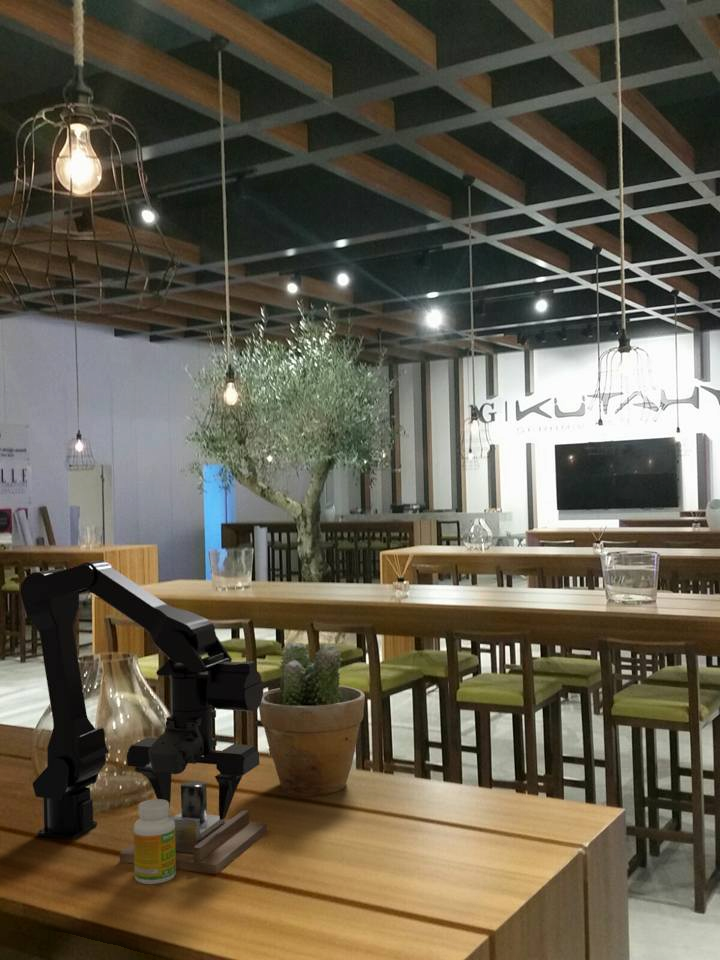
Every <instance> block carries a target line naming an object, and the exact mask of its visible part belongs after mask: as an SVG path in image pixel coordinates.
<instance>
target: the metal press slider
mask: <svg viewBox="0 0 720 960" xmlns="http://www.w3.org/2000/svg"><path fill="white" fill-rule="evenodd" d="M207 797H208V796H207V783H206V781H200V780H193V781H192V780H191V781H186V782H183V783H182V784H181V785H180V805H181V806H180V808H181V810H180V811H181V812H180V813H178V814H176V815H169V816H170V817H171V818H172V819H173V820H174V822H175V845H176V851H179V852H187V853H194V852H193V847H194V846H196V845H197V844H198V843H200V842H201V841H202V840H204V839H205V838H207V837H208V836H209V835H211V834H212V833H213V832H215V831H216V830H217V829H219V828H220V827H221V826H223V825H224V824H225V823H224V819H225V818H224V819H223V820H220V816H219V815H218V814H217V815H215V814H208V802H207Z"/></svg>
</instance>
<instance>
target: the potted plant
mask: <svg viewBox="0 0 720 960" xmlns="http://www.w3.org/2000/svg"><path fill="white" fill-rule="evenodd" d="M282 650H283V652H282V651H281V652H280V656H282V657H281V660H282V661H280V663H281V666H280V670H281V672H282V673H281V674H282V676H281V677H280V680H279V684H280V685H279V687H278V688H274V689H269V690H267V691H263V697H262V701H261V704H260V706H259V707H258V710H259V718H260V723H261V724H262V726H263V728H264V732H265V737H266V741H267V746H268V751H269V754H270V755H271V758H272V760H273V763H274V766H275V770H276V773H277V776H278V779H279V784H280V787H281V788H282V790H283V791H284V792H286V793H288V794H292V795H295V796H302V797H303V796H304V797H317V796H324V795H325V796H326V795H331V794H334V793H337V792H339V791H341V790H342V789H344V788H345V787H346V785H347V783H348V779H349V775H350V772H351V770H352V766H353V761H354V757H355V751H356V747H357V743H358V738H359V731H360V727H361V726H360V725H361V722H362V721H363V719H364V711H365V710H364V709H365V699H366V696H365V693H364V692H363V691H362V690H360V689H358V688H355V687H352V686H345V685H341V684H340V678H341V677H340V675H341V674H340V672H339V670H340V668H341V662H342V661H343V658H341V655H342V653H341V652H340V651H339V648H338V647H337V646H336V645H332V644H331V645H330V644H324V645H323V646H319V650H317V652H315V658H314V660H313V662H311V657H310V654H309V651H308V648H307V645H305V643H303V642H297V641H296V642H295V641H294V642H290V643H287V644H285V646H284V647H282Z"/></svg>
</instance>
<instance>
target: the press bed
mask: <svg viewBox="0 0 720 960" xmlns="http://www.w3.org/2000/svg"><path fill="white" fill-rule="evenodd" d="M224 823H225V824H224V825H223V826H221V827H220V828H219V829H217V830H216V831H215V832H213V833H212V834H211V835H209V836H208V837H207V838H205V839H204V840H202V841H201V842H200V843H198V844H197V845H196V846H194V847H193V852H194V853H187V852H179V851H176V870H181V871H190V872H197V873H203V874H205V873H206V874H214V875H218V874H219V873H220V872H221V871H222V870H223V869H224V867H225V866H226V865H227V864H228V865H229V864H230V863H232V862H233V861H234V860H235V859H237V858H238V857H239V856H240V855H241V854H242V853H243V852H245V851H247V849H249V848H250V847H251V846H252V845H253V844H254V843H256V842H257V841H258V840H259V839H261V838H262V837H261V836H264V835H265V834H266V833H268V823H265V822H257V821H250V811H249V810H246V809H245V810H242V811H240V812H238V813H237V814H236V815H234V816H233V817H232V818H229V819H227V818H224ZM249 846H250V847H249ZM237 856H238V857H237ZM233 859H234V860H233ZM232 860H233V861H232ZM231 861H232V862H231ZM119 862H120V863H126V864H134V843H133V844H131V845H130V846H128V847H127V848H125V849H124V850H122V851H120V852H119ZM228 865H227V866H228ZM227 866H226V867H227ZM226 867H225V868H226ZM218 872H219V873H218Z"/></svg>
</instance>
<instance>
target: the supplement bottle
mask: <svg viewBox="0 0 720 960" xmlns="http://www.w3.org/2000/svg"><path fill="white" fill-rule="evenodd" d="M169 814H170V807H169V802H168V801H166V800H163V799H157V798H155V799H154V798H153V799H152V798H151V799H147V800H144V801H141V802H140V803H139V804H138V817H139V818H138V819H137V820H136V822H134V825H133V844H134V863H133V864H134V879H135V880H136V881H137V882H138V883H140V884H144V885H156V884H157V885H159V884H163V883H167V882H169V881H170V880H172V879H173V878H174V877H175V876H176V872H177V869H176V845H175V822H174V820H173V819H172V818H171V817H170V816H171V815H169Z"/></svg>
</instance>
